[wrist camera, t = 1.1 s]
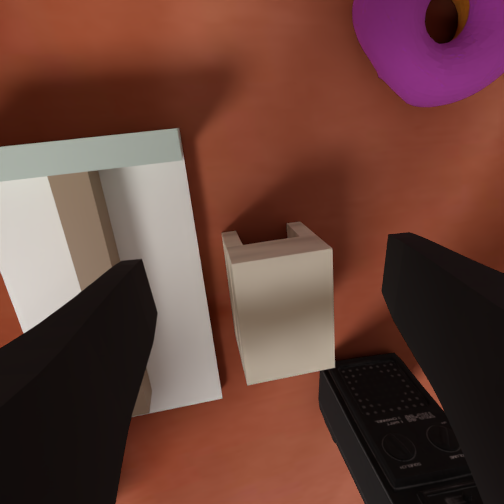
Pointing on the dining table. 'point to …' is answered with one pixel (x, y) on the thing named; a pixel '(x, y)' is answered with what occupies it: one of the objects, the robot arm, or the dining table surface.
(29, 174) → the board
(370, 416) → the portable radio
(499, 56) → the donut
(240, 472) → the dining table surface
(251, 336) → the saddle block
